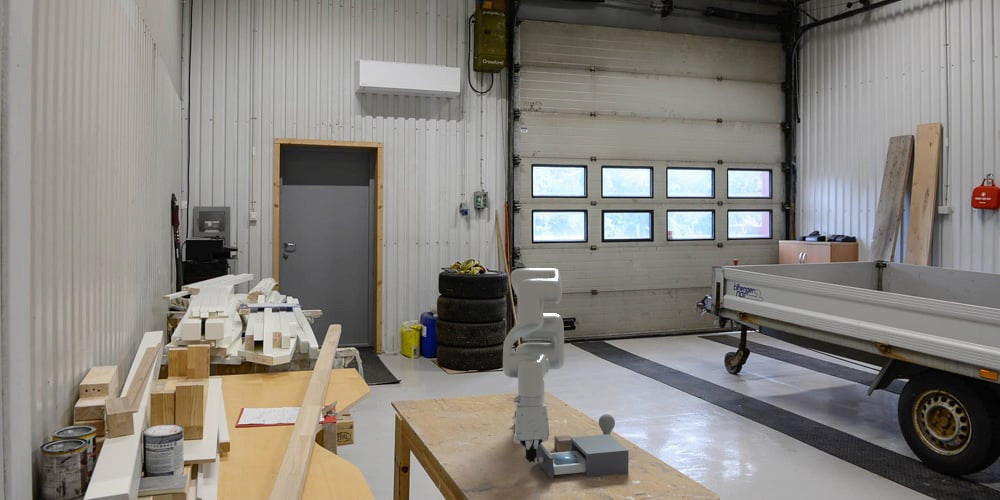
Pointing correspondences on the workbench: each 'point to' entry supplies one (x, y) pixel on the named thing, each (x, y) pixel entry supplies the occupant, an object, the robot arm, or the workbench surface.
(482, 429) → the workbench surface
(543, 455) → the grey drawer
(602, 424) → the light bulb
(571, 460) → the pale blue dome cap
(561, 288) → the robot arm
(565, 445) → the brown block
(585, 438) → the box
